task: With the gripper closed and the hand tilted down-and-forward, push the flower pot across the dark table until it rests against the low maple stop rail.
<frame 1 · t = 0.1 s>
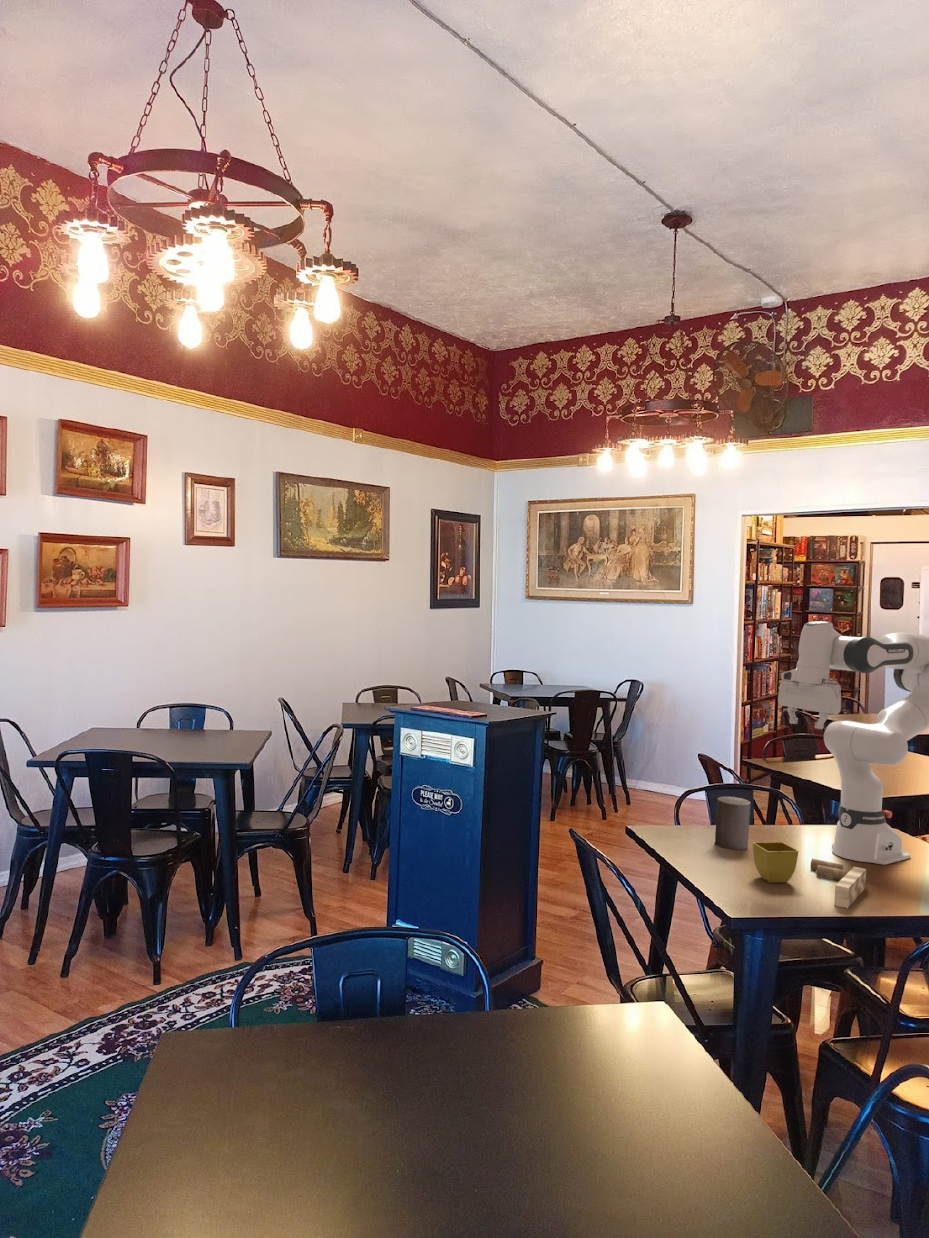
hand: (805, 726, 250), 39 cm above the table, tool pointing down, fingers open, 8 cm apart
stop rail: (850, 896, 223), on the table
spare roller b: (826, 872, 243), on the table
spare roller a: (833, 879, 237), on the table
pillar candle: (731, 845, 266), on the table
flower pot: (773, 880, 234), on the table
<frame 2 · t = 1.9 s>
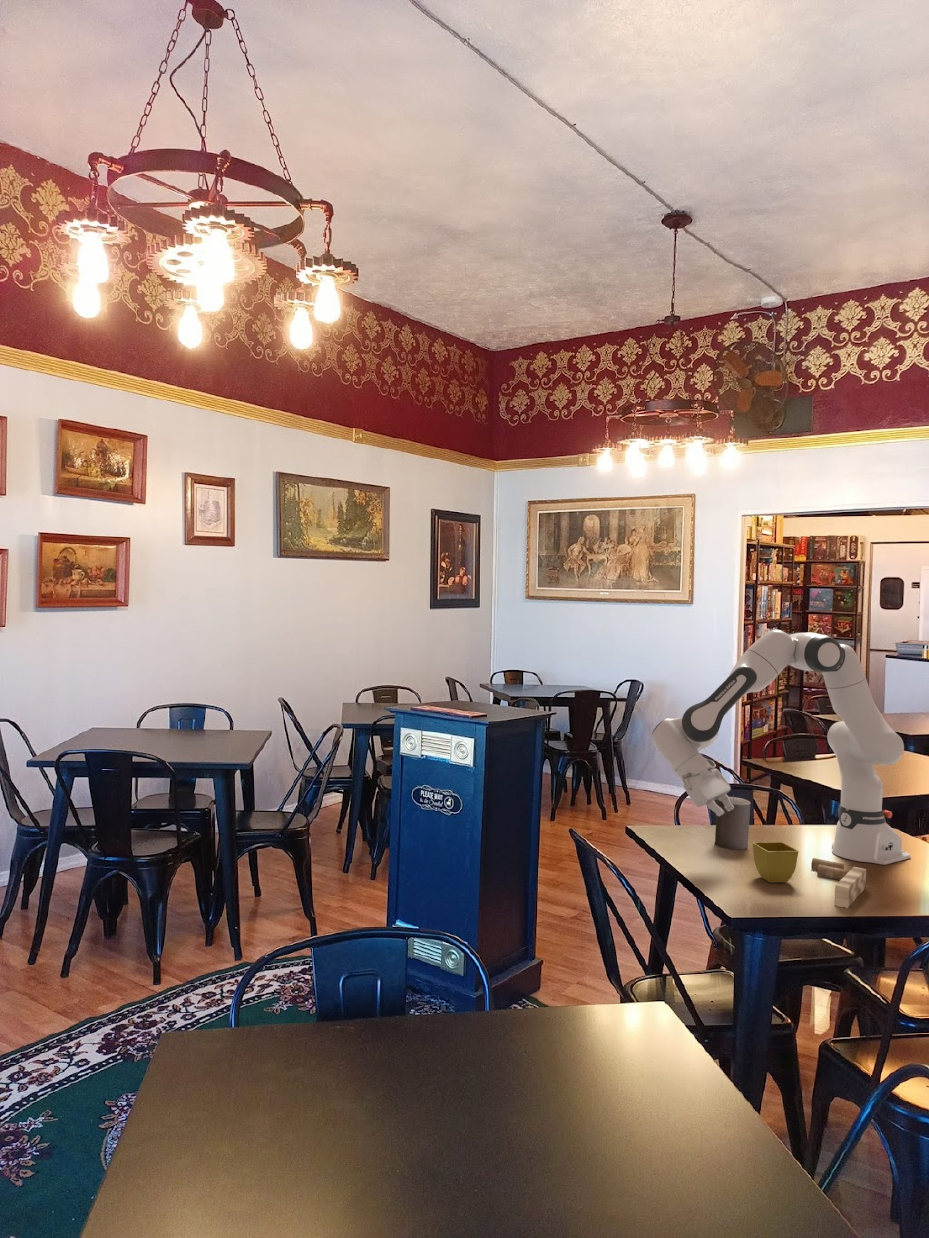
hand: (726, 812, 241), 16 cm above the table, tool tilted 45°, fingers open, 6 cm apart
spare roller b: (826, 871, 243), on the table, tilted 37°
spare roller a: (833, 878, 237), on the table, tilted 25°
everything else where it was.
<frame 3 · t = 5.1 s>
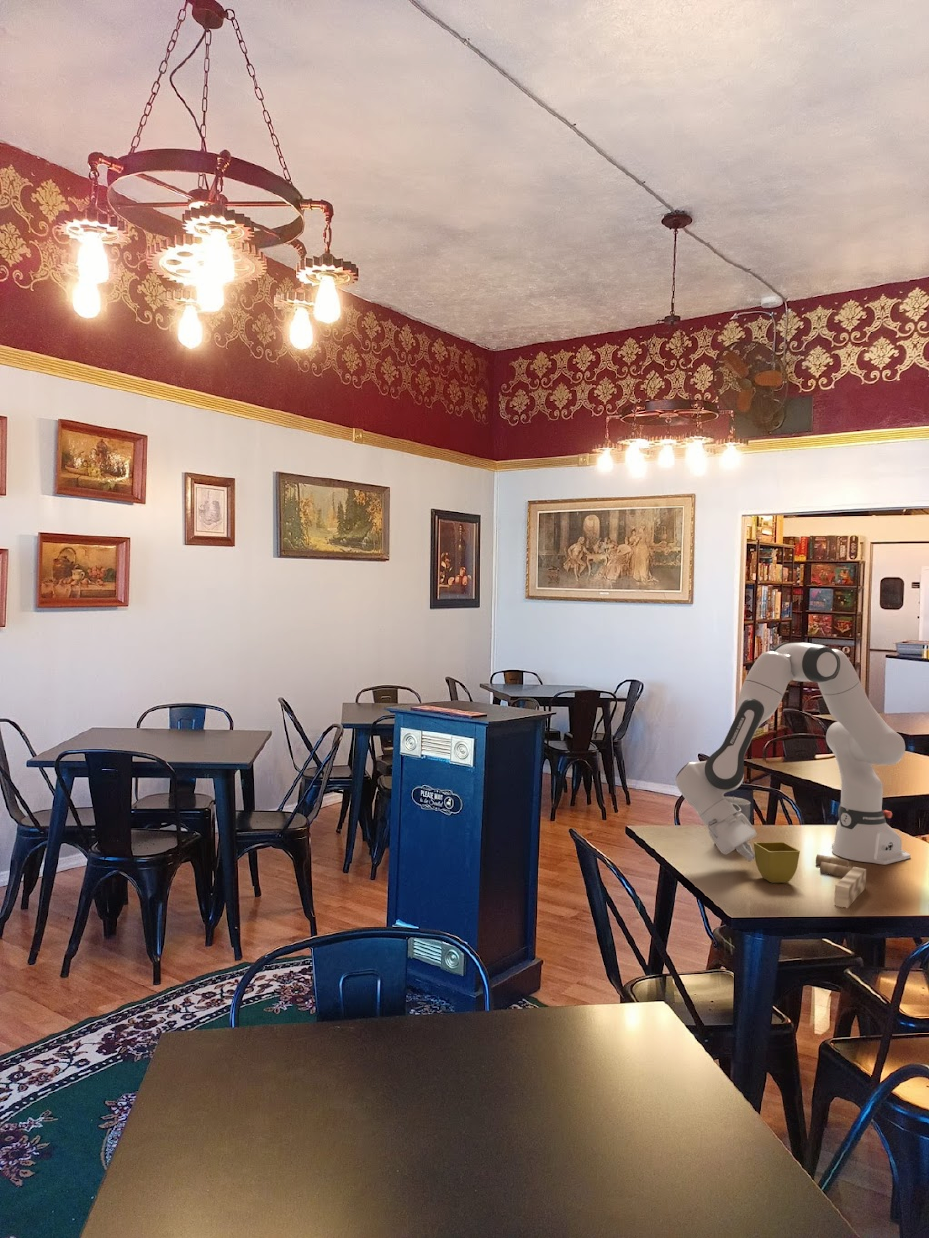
hand: (753, 859, 237), 4 cm above the table, tool tilted 45°, fingers closed, pressing on flower pot
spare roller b: (833, 858, 248), point 2 cm above the table, tilted 133°
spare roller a: (836, 865, 240), point 3 cm above the table, tilted 162°
flower pot: (774, 880, 234), on the table, touching gripper
everything else where it was.
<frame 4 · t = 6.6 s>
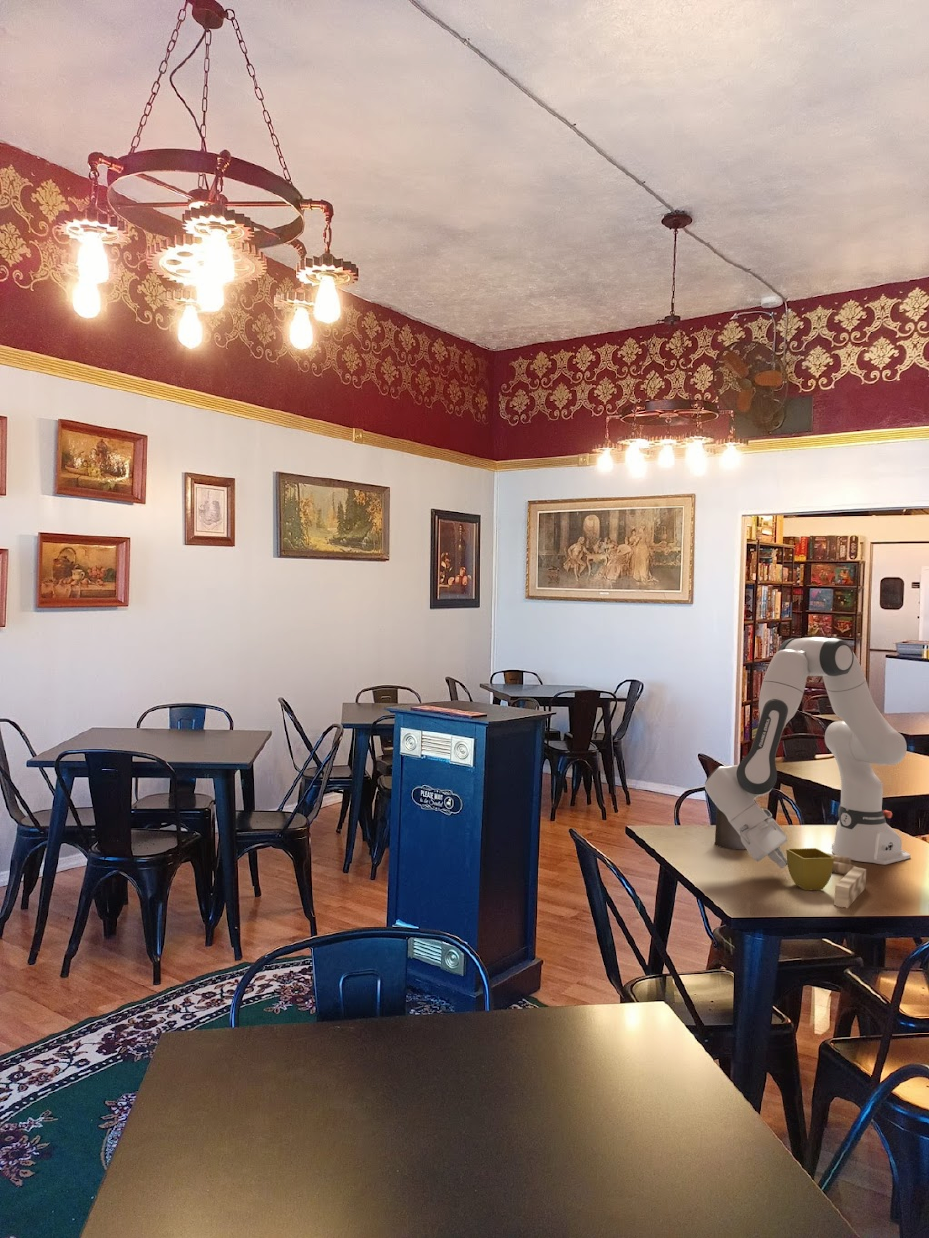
hand: (785, 866, 232), 4 cm above the table, tool tilted 45°, fingers closed, pressing on flower pot
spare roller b: (834, 865, 250), on the table, tilted 7°
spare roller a: (840, 867, 244), point 1 cm above the table, tilted 84°
flower pot: (808, 888, 229), on the table, touching gripper
everything else where it was.
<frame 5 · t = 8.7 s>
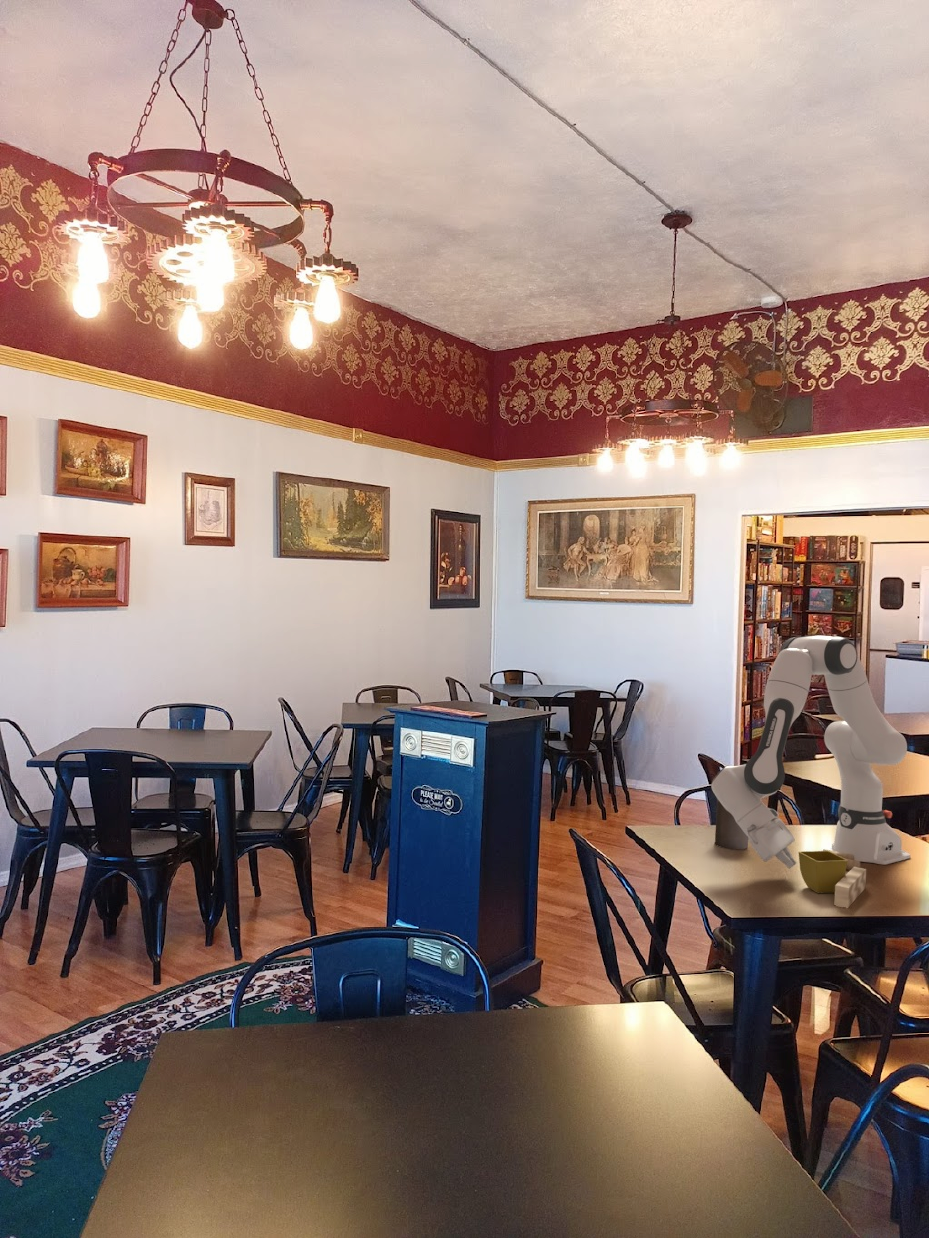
hand: (793, 866, 231), 5 cm above the table, tool tilted 45°, fingers closed
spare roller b: (837, 853, 252), point 3 cm above the table, tilted 151°
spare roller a: (843, 861, 246), point 2 cm above the table, tilted 132°
flower pot: (821, 891, 227), on the table
everything else where it was.
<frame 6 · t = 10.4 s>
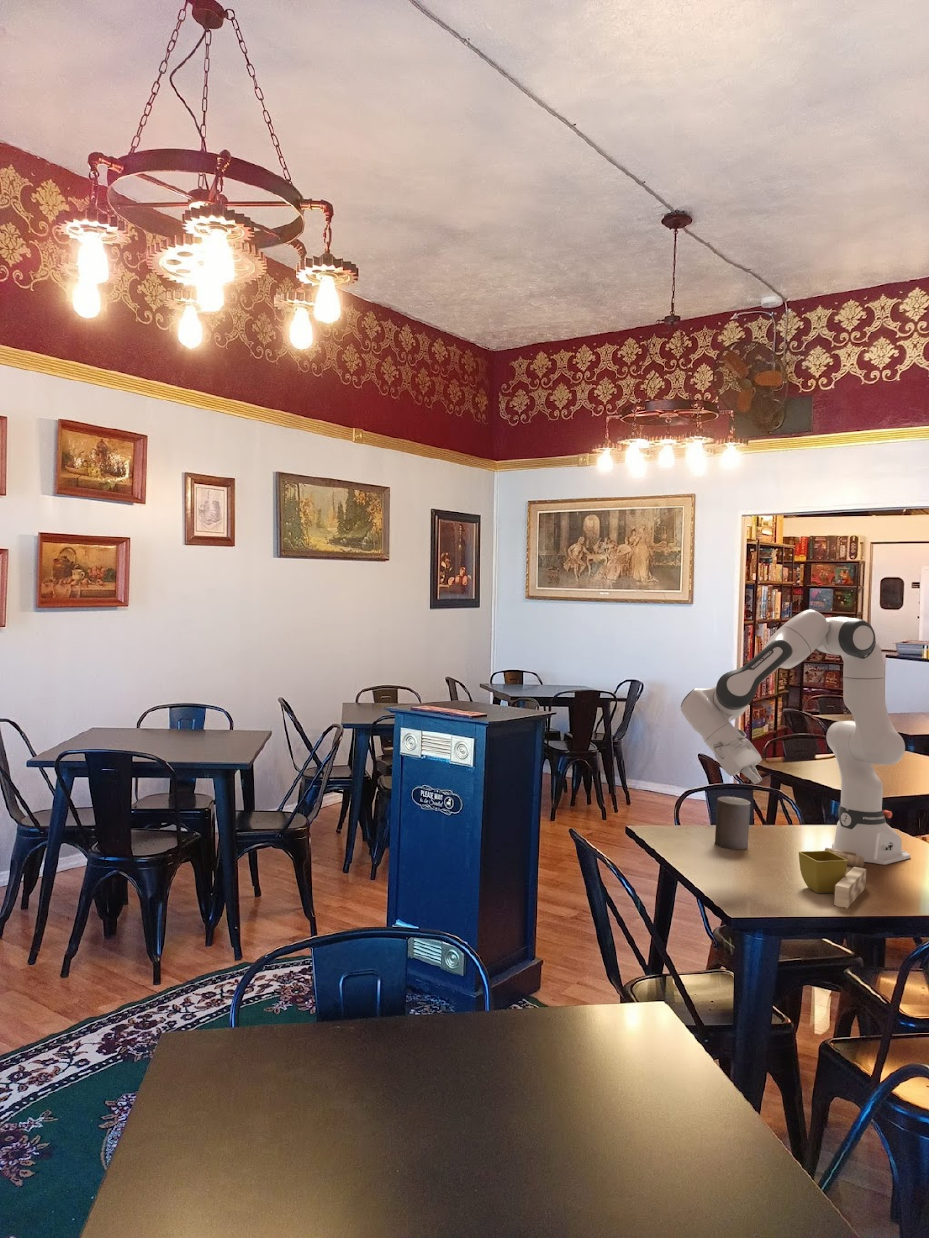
hand: (758, 781, 237), 25 cm above the table, tool tilted 45°, fingers closed
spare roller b: (841, 852, 256), point 2 cm above the table, tilted 110°
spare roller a: (848, 864, 251), on the table, tilted 26°
everything else where it was.
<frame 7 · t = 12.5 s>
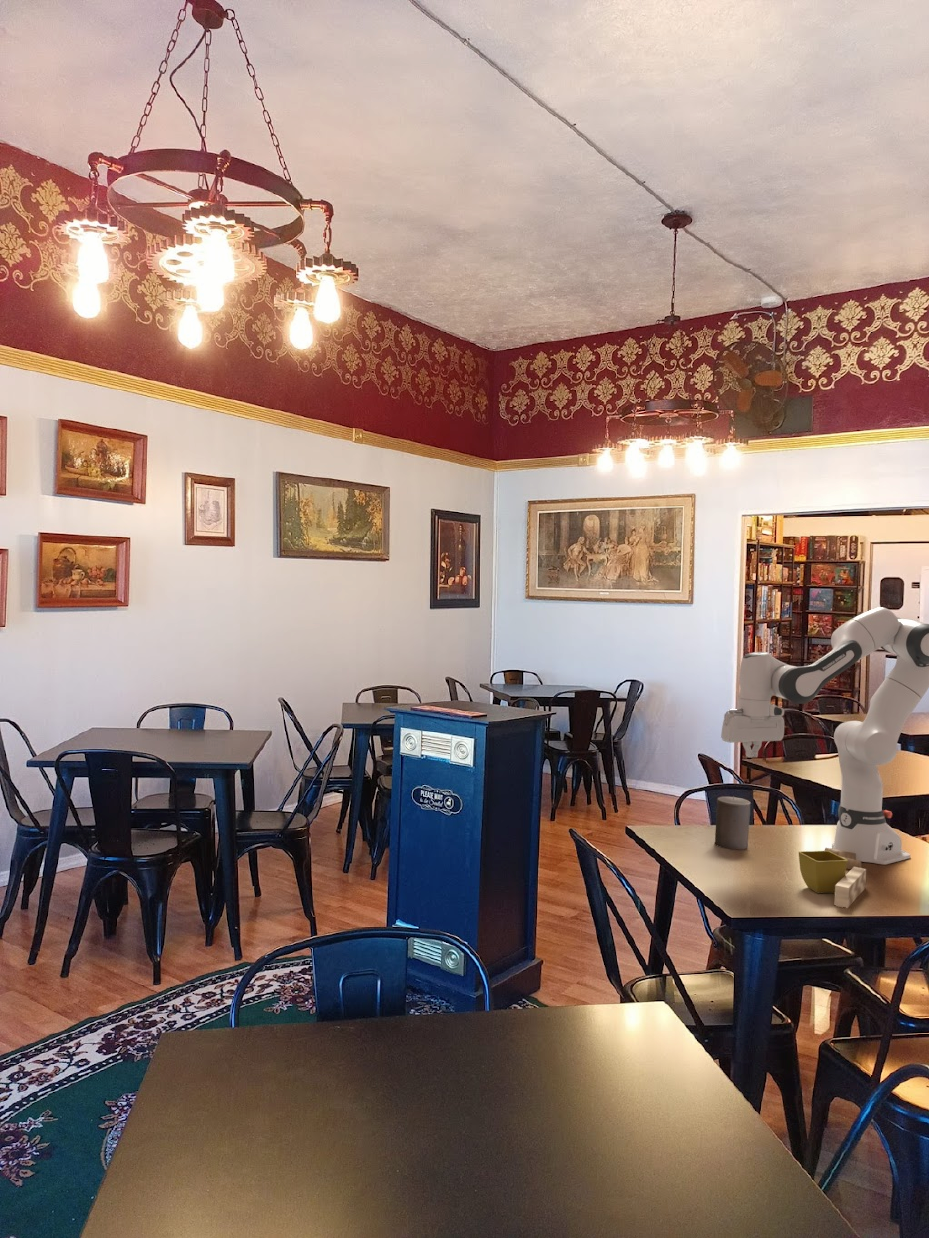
hand: (751, 757, 252), 29 cm above the table, tool pointing down, fingers closed
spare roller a: (844, 857, 247), point 3 cm above the table, tilted 170°
everything else where it was.
at the end: flower pot inside the target area (0.4 cm from its centre), on the table; flower pot moved 12.0 cm from its start; flower pot tilted 0° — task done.
